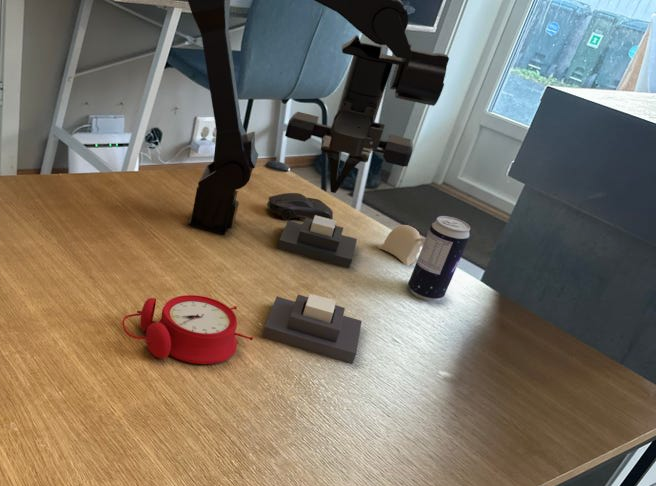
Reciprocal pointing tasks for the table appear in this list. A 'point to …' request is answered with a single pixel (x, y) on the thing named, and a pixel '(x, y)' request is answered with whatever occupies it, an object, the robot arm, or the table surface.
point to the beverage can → (439, 258)
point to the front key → (319, 308)
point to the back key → (323, 226)
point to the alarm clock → (190, 329)
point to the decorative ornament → (403, 243)
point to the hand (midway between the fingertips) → (333, 192)
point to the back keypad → (318, 244)
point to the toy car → (298, 206)
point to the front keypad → (313, 330)
